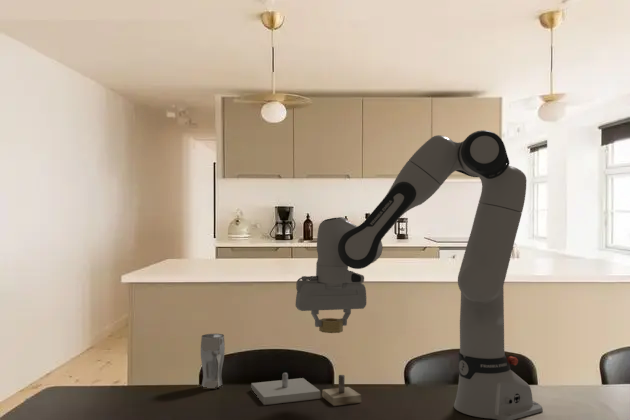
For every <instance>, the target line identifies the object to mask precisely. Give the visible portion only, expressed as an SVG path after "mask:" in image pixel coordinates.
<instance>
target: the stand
mask: <svg viewBox="0 0 630 420" xmlns="http://www.w3.org/2000/svg"><path fill="white" fill-rule="evenodd" d="M321 395H322V398H323V399H325V401H327V402H328V403H329V404H331V405H332V406H333V407H336V406H344V405H352V404H359V403H360V404H361V403H362V394H361V393H360V392H357V391H356V390H354V389H353V388H351V387H350V386H345V374H339V375H338V387H336V388H326V389H322V393H321Z"/></svg>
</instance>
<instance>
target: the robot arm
mask: <svg viewBox="0 0 630 420" xmlns="http://www.w3.org/2000/svg"><path fill="white" fill-rule="evenodd" d="M506 149H507V148H506V146H505V144H504V141H503V139H502V138H501V137H500V136H499V135H498V133H497V134H496V133H495V132H493V131H491V130H484V129H483V130H477V131H474V132H472V133H470V134H469V135H468V136H467V137H466V138H465V139H464V140H463V141H461V142H458V141H457V142H456V141H454V140H452V139H451V138H449V137H447V136H444V135H434V136H432V137H430V138H429V139H428V140H427V141H425V142H424V143H423V144H422V145H421V146H420V147H419V148H418V149H417V150H416V151H415V152H414V153H413V154H412V156H411V157H410V158H409V159H408V160H407V162H406V163H405V164H404V165H403V166H402V169H401V170H400V171H399V173H398V174H397V177H396V178H395V180H394V181H393V183H392V185H391V186H390V188H389V190H388V192H387V193H386V195H385V196H384V198H383V199H382V200H381V201H380V203H378V205H376V207H375V209H373V211H372V212H371V213H370V214H369V215H368V216H367V218H366V219H365V220H364V221H363V222H362V223H360V224H359V225H355V224H354V223H352V222H351V221H349V220H348V219H347V218H346V217H339V216H338V217H332V218H327V219H324V220H322V221H321V222H320V223H319V225H318V230H317V237H316V252H317V260H316V265H315V275H309V276H306V275H305V276H304V275H302V276H301V277H300V278H298V279H297V281H296V285H295V286H296V287H295V288H296V295H295V307H296V308H297V310H298V311H300V312H307V311H308V312H309V311H311V313H310V314H311V315H312V318H313V319H314V327H315V328H319V327H322V320H320V319H319V317H318V315H320V314H319V313H320V311H333V310H334V311H337V310H338V311H339V310H341V311H342V310H343V313H344V314H343V315H342V318H340V319H341V320H343V327H346V326H348V319H349V317H350V316H351V313H352V310H363V309H365V308H366V306H367V290H366V286H365V285H364V284H363V283H364V281H365V275H363V274H360V273H358V272H355V271H353V270H349V268H351V269H355V270H361V269H364V268H366V267H369V266H370V265H371V264H373V263H375V262H376V261H377V260H379V258H380V257H381V255H382V252H383V249H384V248H383V243H382V239H383V238H384V237H385V236H386V235H387V233H389V231H390V230H391V229H392V227H393V226H394V225H395V224H396V223H397V222H398V220H399V219H401V217H402V216H403V215H404V214H406V213H407V212H408V211H410V210H412V209H413V208H415V207H418V206H420V205H423V203H425V202H426V201H428V200H429V199H430V198H431V197H432V196H433V195H434V194H436V192H437V191H438V190H439V189H440V188H441V186H442V185H443V184H444V183H445V181H446V180H447V179H448V178H449V176H451V175H452V174H453V173H454V172H458V173H460V174H463V175H465V176H469V177H471V178H472V177H473V178H479V179H480V182H481V192H480V195H479V200H478V204H477V208H476V211H475V215H474V218H473V222H472V227H471V230H470V234H469V237H468V240H467V244H466V247H465V250H464V251H465V252H464V254H463V258H462V260H461V264H460V267H459V272H458V275H457V285H458V289H459V291H460V309H459V310H460V312H459V313H460V315H459V351H458V355H457V365H458V366H457V367H458V372H459V373H458V374H459V376H458V385H457V392H456V396H455V401H454V404H453V407H454V409H455V410H456V411H458V412H460V413H462V414H464V415H468V416H472V417H475V418H481V419H483V418H484V419H492V420H517V419H520V418H524V417H527V416H530V415H534V414H538V413H541V412H543V409H544V408H543V407H542V405H541V404H539V403H538V402H537V401H534V400H533V393H532V389H531V387H530V385H529V384H528V383H527V382H526V381H525V380H524V379H522V378H521V377H520V376H519V375H518V374H516V372H514V371H513V370H511V365H513V366H517V365H518V363H519V359H518V358H517V357H516V356H512V355H510V356H508V355H506V354H505V313H504V312H505V307H504V306H505V305H504V298H505V296H504V293H505V292H504V284H505V280H506V279H507V278H506V277H507V273H508V270H509V266H510V265H509V264H510V261H511V257H512V253H513V248H514V245H515V240H516V238H517V233H518V229H519V226H520V221H521V218H522V213H523V211H524V205H525V201H526V193H527V177H526V174H525V173H524V172H523V171H522V170H521V169H519V168H517V167H515V166H512V165H510V159H509V156H508V152H507V150H506Z"/></svg>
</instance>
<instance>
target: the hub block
mask: <svg viewBox="0 0 630 420" xmlns="http://www.w3.org/2000/svg"><path fill="white" fill-rule="evenodd" d="M281 377H282V378H281V380H280V379H279V380H271V381H270V380H268V381H261V382H260V381H259V382H258V381H257V382H251V384H250V389H251V388H252V390H253V391H254V393H255V394H256V395H257V396H256V395H255V394H254V393H253V394H254V395H255V396H256V397H257V399H258V398H259V399H258V400H259V401H260V402H261V403H262V404H263V406H266V405H276V404H282V403H283V404H285V403H292V402H302V401H309V400H310V401H311V400H318V399H319V400H320V399H321V390H320V389H319V388H317V387H316V386H315V385H313V384H312V383H310V382H309V381H307V379H305V378H304V377H302V378H301V377H299V378H290V379H289V373H288V372H283V373H282V376H281Z"/></svg>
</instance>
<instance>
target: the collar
mask: <svg viewBox="0 0 630 420" xmlns="http://www.w3.org/2000/svg"><path fill="white" fill-rule="evenodd" d="M341 319H342V318H332V317H326V318H320V319H319V320H322V327H318V328H319V329H318V330H319V332H321V333H325V334H340V333H342V332H344V331H343V330H344V326H343V320H341Z"/></svg>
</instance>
